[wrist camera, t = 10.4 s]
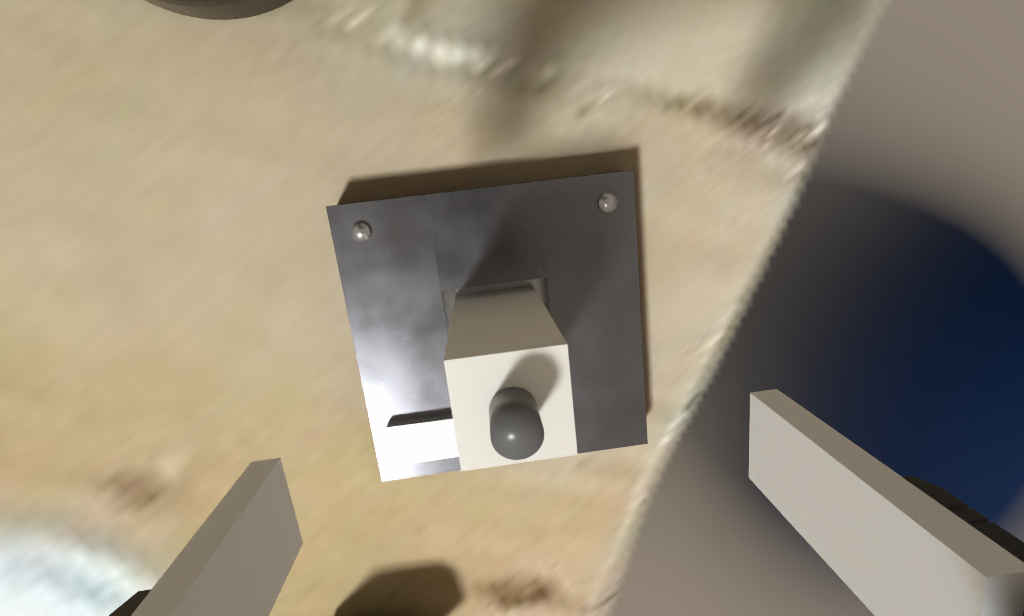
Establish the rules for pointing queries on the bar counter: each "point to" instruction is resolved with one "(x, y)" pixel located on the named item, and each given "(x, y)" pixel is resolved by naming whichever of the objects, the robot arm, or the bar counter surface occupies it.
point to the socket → (485, 267)
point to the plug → (508, 380)
